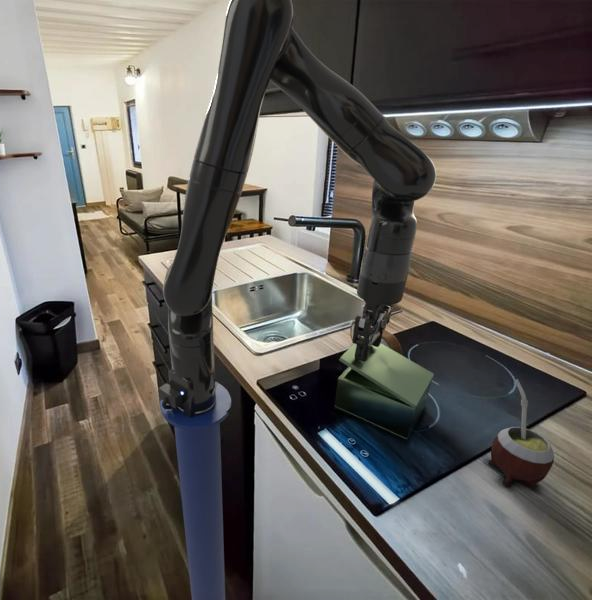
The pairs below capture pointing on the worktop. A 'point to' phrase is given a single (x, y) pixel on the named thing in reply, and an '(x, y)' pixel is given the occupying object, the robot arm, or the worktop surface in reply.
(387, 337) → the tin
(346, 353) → the lid
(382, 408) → the green box
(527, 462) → the mate gourd
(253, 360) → the worktop surface
